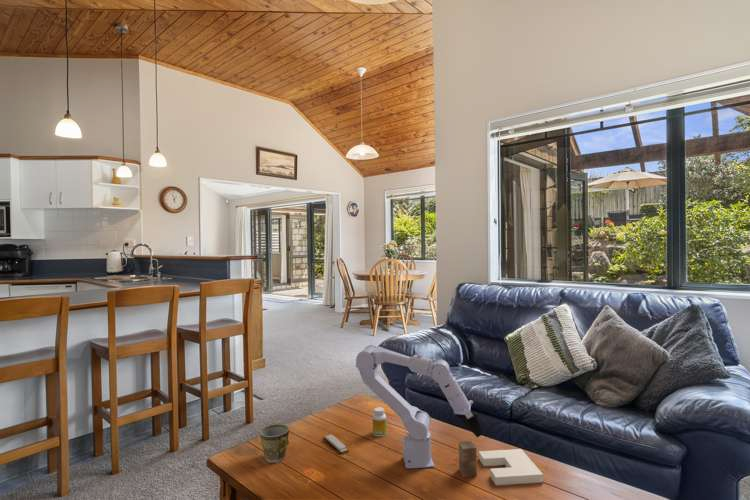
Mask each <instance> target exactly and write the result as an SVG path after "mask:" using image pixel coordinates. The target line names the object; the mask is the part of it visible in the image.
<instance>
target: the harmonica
mask: <svg viewBox="0 0 750 500" xmlns="http://www.w3.org/2000/svg"><path fill="white" fill-rule="evenodd" d="M323 438H324V439H325V440H326V441H327V442H328V443H329V444H330V445H329V444H328V445H329V446H330V447H332V448H333V449H334V450H335V449H336V450H337V451H338V452H339V453H340V454H339V453H338V452H337V451H336V450H335V451H336V452H337V453H338V454H339V455H341V454H342V455H345V454H347V452H348V453H349V449H348V448H346V445H345V444H344V443H343V442H342V441H341V440H339V439H338V438H337V437H336V436H334V435H333V434H328V435H325V436H323ZM324 439H323V440H324ZM325 440H324V441H325ZM326 441H325V442H326ZM327 442H326V443H327ZM344 453H345V454H344Z"/></svg>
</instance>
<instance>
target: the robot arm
mask: <svg viewBox="0 0 750 500" xmlns="http://www.w3.org/2000/svg"><path fill="white" fill-rule="evenodd" d="M384 363H389V364H395V365H399V366H403V367H408V369H409V370H410V372H412V373H416V374H419V375H423V376H427V377H431V379H432V380H433V381H435V382H437V384H438V385H439V387H440V390H441V391H442V393H443V394H444V396H445V398H446V399H447V401H448V403H449V405H450V406H451V408H452V410H453V413H454V415H455V416H456V417H458V418H459V419H460V421H461V423H462V424H464V425H465V426H466V427H467V429H469V431H471V432H472V433H473V434H474V436H475V437H477V438H479V437H480V436H482V435H483V431H482V427H481V425H480V421H479V416H478V412H477V411H474V412H473V413H472V411H471V409H472V408H471V407H472V404H473V403H474V400H472V399H470V400H468V398H467V396H466V395H465V393H464V391H463V389H462V388H461V386H460V384H459V383H458V381H457V379H456V378H455V377H454V375H453V373H452V372H451V370H450V368H451V367H450V364H449V363H448V362H447V361H446V360H445V359H442V358H435V357H433V358H429V357H427V356H423V354H422V353H418V354H414V355H412V356H408V355H405V354H402V353H399V352H397V351H394V350H390V349H387V348H385V347H381V346H376V345H374V344H370V345H367V346H365V348H364V349H363V350H362V351H361V352H359V353H358V354H357V356H356V359H355V367H356V368H357V370H358V372H359V375H360V377H361V380H362V381H363V384H365V385H366V386H367V388H369V389H370V390H371V391H372V392H373V393H374V394H375V395H376V396H377V397H378V398H379V399H381V401H382V402H383V403H385V405H387V406H388V407H389V408H390V409H391V410H392V412H394V413H395V414H396V415H397V416H398V417H399V418H400V419H401V421H402V424H403V426H404V428H405V429H406V430H407V432H408V434H407V435H404V436H402V449H403V450H402V459H403V462H404V466H405V468H406V469H421V468H422V469H423V468H434V467H435V463H434V461H433V459H432V442H431V441H432V440H431V439H432V435H431V432H430V430H429V428H430V426H431V423H432V419H431V416H430V415H429V414H428V413H427V412H426V411H424V410H421V409H419V408H418V407H416V406H413V405H411V404H410V403H409V402H408V401H407V400H405V398H403V397H402V396H401V395H400V393H398V392H397V391H396V390H395V388H393V387H392V386H391V385H390V384H389V383H388V382H386V381H385V380H384V378H382V376H381V375H380V374H379V370H378V369H379V367H378V366H380V365H381V364H384Z"/></svg>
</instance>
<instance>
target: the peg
mask: <svg viewBox="0 0 750 500" xmlns="http://www.w3.org/2000/svg"><path fill="white" fill-rule="evenodd" d="M477 459H478V458H477V447H476V444H474V442H473V441H471V440H470V441H459V442H458V462H459V463H458V464H459V465H458V466H459V467H458V468H459V471H460V474H461V476H462V477H463V478H466V477H469V478H470V477H477V475H478V474H477V473H478V470H477V467H478V466H477V465H478V464H477V462H478V461H477Z"/></svg>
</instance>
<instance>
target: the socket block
mask: <svg viewBox="0 0 750 500" xmlns="http://www.w3.org/2000/svg"><path fill="white" fill-rule="evenodd" d="M478 459H479V461H480V462H481V464H482V466H483V467H491V466H505V467H498V468H490V469H489V477H490V478H491V480H492V481H493V483H494V485H495V486H509V485H522V484H523V485H524V484H537V483H544V473H543V472H542V471H541V470H540V469H539V468H538V467H537V465H536V464H535V463H534V461H532V459H531V458H530V457H529V456H528V455H527V454H526V453H525V451H524V450H523V449H522V448H517V449H516V448H515V449H513V448H512V449H498V450H480V451H478Z"/></svg>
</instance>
